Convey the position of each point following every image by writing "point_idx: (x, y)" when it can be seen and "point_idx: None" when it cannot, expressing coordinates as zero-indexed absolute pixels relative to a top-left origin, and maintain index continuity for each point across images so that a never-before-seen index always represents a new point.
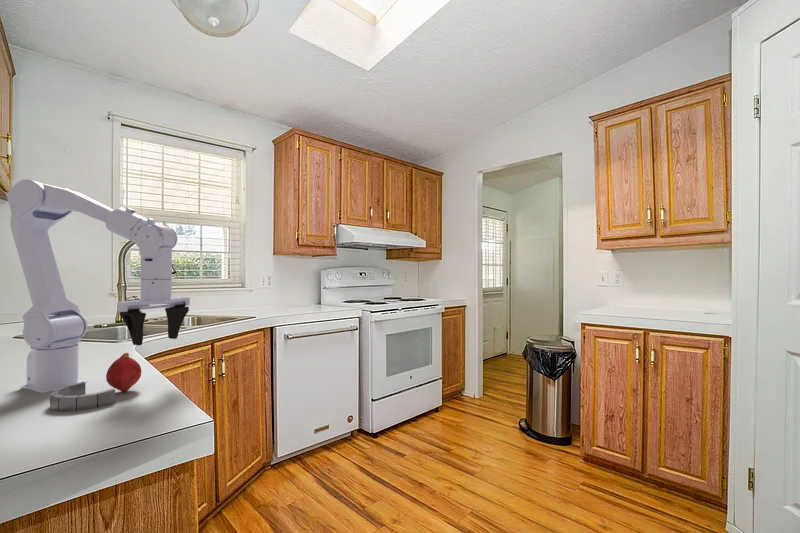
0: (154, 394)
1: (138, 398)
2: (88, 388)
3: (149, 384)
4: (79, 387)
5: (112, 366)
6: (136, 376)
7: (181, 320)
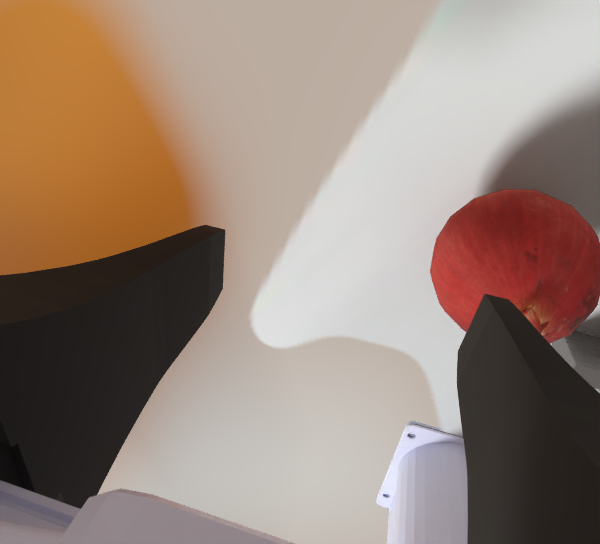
0: (521, 45)
1: (595, 72)
2: None
3: (381, 207)
4: (593, 359)
5: (593, 310)
6: (515, 192)
7: (85, 271)
